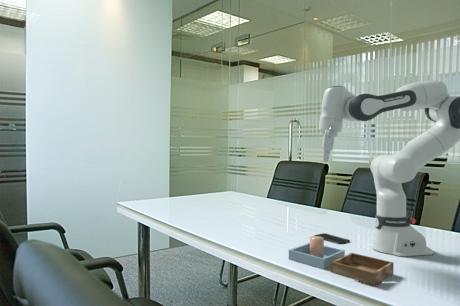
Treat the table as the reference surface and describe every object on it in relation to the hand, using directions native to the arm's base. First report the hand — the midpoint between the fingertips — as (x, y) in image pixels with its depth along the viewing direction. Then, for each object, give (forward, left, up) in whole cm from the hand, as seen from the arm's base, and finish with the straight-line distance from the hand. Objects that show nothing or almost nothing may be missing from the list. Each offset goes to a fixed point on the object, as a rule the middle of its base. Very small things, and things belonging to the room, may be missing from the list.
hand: (325, 161), depth 140 cm
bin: (+6, +12, -36) cm, 39 cm away
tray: (-6, +25, -36) cm, 44 cm away
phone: (-8, -18, -37) cm, 42 cm away
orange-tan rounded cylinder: (+6, +12, -36) cm, 38 cm away
